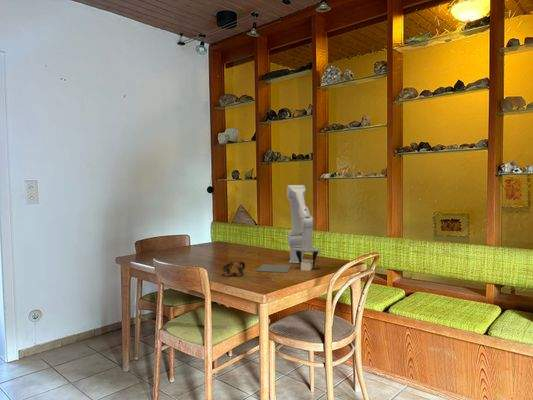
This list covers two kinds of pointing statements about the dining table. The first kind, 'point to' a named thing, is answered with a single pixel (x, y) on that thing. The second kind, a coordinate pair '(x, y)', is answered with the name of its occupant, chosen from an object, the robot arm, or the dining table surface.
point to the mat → (274, 268)
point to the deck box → (306, 265)
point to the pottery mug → (237, 265)
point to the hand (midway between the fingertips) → (307, 265)
